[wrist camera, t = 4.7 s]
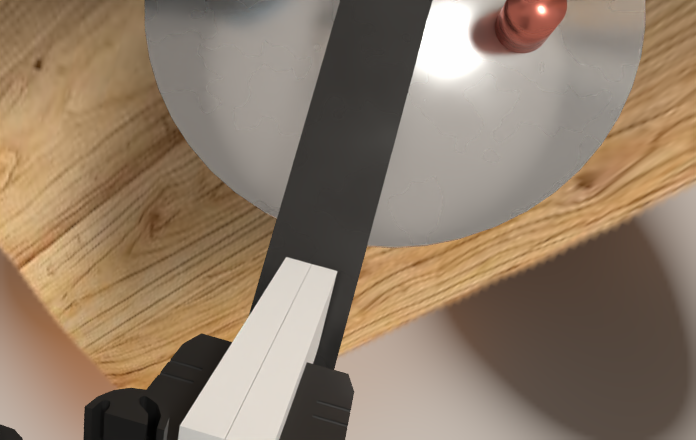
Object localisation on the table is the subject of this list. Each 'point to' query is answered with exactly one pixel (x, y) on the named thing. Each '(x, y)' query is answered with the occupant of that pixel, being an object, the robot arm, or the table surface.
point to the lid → (390, 114)
